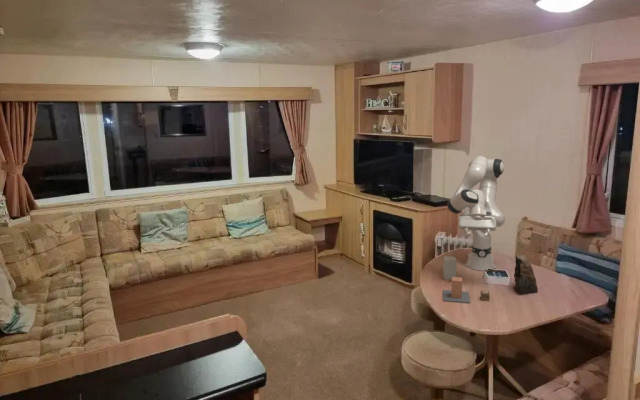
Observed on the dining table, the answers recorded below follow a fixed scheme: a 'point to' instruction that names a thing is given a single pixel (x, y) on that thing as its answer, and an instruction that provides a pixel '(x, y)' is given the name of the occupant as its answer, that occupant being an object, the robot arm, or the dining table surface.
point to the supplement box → (449, 267)
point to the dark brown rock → (524, 276)
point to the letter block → (484, 295)
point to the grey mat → (448, 298)
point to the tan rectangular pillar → (456, 287)
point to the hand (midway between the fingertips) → (477, 236)
